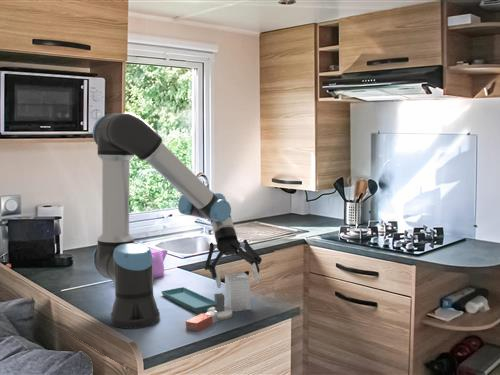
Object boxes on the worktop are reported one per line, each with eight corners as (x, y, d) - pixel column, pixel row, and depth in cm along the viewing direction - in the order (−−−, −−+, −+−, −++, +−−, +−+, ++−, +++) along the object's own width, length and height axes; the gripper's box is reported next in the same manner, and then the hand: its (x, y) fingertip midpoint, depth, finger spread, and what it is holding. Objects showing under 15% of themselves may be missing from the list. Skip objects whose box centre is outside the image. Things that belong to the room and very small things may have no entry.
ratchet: (202, 332, 172) (201, 309, 171) (180, 328, 176) (180, 305, 175) (237, 314, 188) (236, 293, 187) (216, 310, 192) (215, 290, 191)
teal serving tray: (160, 296, 211) (160, 290, 211) (183, 292, 216) (183, 285, 216) (195, 315, 189) (195, 307, 189) (219, 310, 194) (219, 302, 194)
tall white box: (231, 311, 191) (230, 278, 190) (225, 306, 197) (224, 274, 196) (250, 309, 193) (249, 276, 192) (243, 303, 199) (243, 272, 198)
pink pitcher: (116, 282, 231) (115, 251, 230) (128, 271, 248) (127, 242, 246) (159, 282, 230) (158, 251, 228) (168, 271, 246) (167, 242, 245)
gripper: (254, 234, 216) (270, 285, 204) (188, 240, 208) (201, 293, 196) (259, 222, 211) (276, 273, 198) (192, 228, 202) (205, 282, 190)
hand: (239, 283), depth 197 cm, fingers open, 13 cm apart
